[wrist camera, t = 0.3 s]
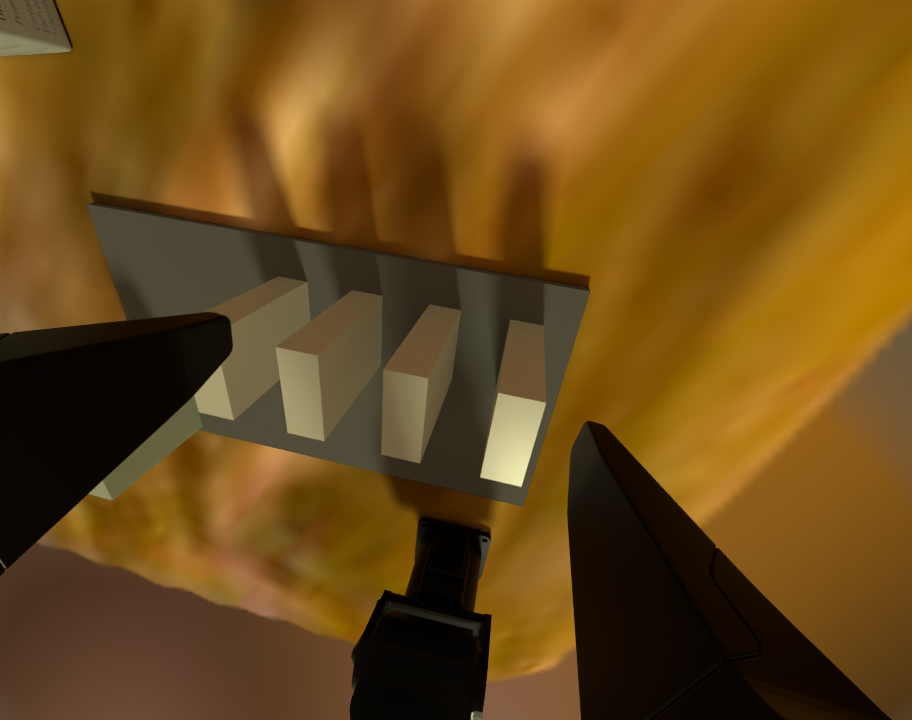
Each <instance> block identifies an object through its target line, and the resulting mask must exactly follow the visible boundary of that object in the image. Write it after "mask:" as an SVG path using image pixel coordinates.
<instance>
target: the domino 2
mask: <svg viewBox="0 0 912 720" xmlns="http://www.w3.org/2000/svg"><path fill="white" fill-rule="evenodd" d="M205 312H215V313H218V314H221V315H225V316H227V317H228V318H229V319H230V322H231V330H232V339H233V349H232V352H231V354H230V355H229V356H228V358H227V359H226V360H225V361H224V362H223V363H222V364H221V366H220V367H219V368H218V369H217V370H216V371H215V372H214V373H213V375H212V376H211V377H210V378H209V379H208V380H207V381H206V383H205V384H204V385H203V386H202V387H201V388H200V389H199V390H198V392H197V393H196V394H195V395H194V397H195V400H196V404H197V407H198V411H199V412H200V413H204V414H208V415H213V416H217V417H221V418H226V419H230V420H235V419H236V418H237V417H238V416H239V415H240V414H242V413H243V412H244V411H245V410H246V409H247V408H248V407H250V406H251V405H252V404H253V403H254V402H255V401H256V400H257V399H259V398H260V397H261V396H262V395H263V394H264V393H265V392H267V391H268V390H269V389H270V388H271V387H272V386H273V385H274V384H276V383H277V382H278V381H279V380H280V375H279V368H278V361H277V354H276V346H278V345H279V344H280V343H282V342H283V341H284V340H286V339H287V338H288V337H290V336H291V335H292V334H294V333H295V332H296V331H298V330H299V329H300V328H302V327H303V326H304V325H306V324H307V323H309V322H310V321H311V319H310V307H309V295H308V283H307V282H306V281H300V280H295V279H289V278H284V277H279V276H278V277H276V278H274V279H272V280H270V281H268V282H266V283H263V284H261V285H259V286H257V287H255V288H253V289H251V290H249V291H247V292H245V293H243V294H240V295H238V296H236V297H234V298H232V299H230V300H228V301H226V302H224V303H222V304H220V305H217V306H215V307H213V308H211V309H209V310H207V311H205Z"/></svg>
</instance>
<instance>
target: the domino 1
mask: <svg viewBox="0 0 912 720" xmlns="http://www.w3.org/2000/svg"><path fill="white" fill-rule="evenodd" d="M202 427H203V426H202V423H201V419H200V416H199V412H198V409H197V405H196V402H195V398H194V396H193V397H192V398H191V399H190V400H189V401H188V402H187V403H186V404H185V405H184V406H183V407H182V408H181V409H180V410H178V411H177V412H176V413H175V414H174V415H173V416H172V417H171V418H170V419H169V420H168V421H167V422H166V423H164V424H163V425H162V426H161V427H160V428H159V429H158V430H157V431H156V432H155V433H154V434H153V435H151V436H150V437H149V438H148V439H147V440H146V441H145V442H144V443H143V444H142V445H141V446H140V447H139V448H137V449H136V450H135V451H134V452H133V453H132V454H131V455H130V456H129V457H128V458H127V459H126V460H124V461H123V462H122V463H121V464H120V465H119V466H118V467H117V468H116V469H115V470H114V471H113V472H111V473H110V474H109V475H108V476H107V477H106V478H105V479H104V480H103V481H102V482H101V483H100V484H99V485H97V486H96V487H95V488H94V489H93V490H92V491H91V492H90V493H89V494H91V495H94V496H98V497H102V498H106V499H110V500H114V499H115V498H116V497H117V496H118V495H120V494H121V493H122V492H123V491H125V490H126V489H127V488H128V487H129V486H131V485H132V484H133V483H134V482H136V481H137V480H138V479H139V478H140V477H142V476H143V475H144V474H145V473H147V472H148V471H149V470H150V469H151V468H153V467H154V466H155V465H156V464H158V463H159V462H160V461H161V460H162V459H164V458H165V457H166V456H167V455H169V454H170V453H171V452H172V451H173V450H175V449H176V448H177V447H178V446H180V445H181V444H182V443H183V442H184V441H186V440H187V439H188V438H189V437H191V436H192V435H193V434H194V433H195V432H197V431H198V430H199V429H200V428H202Z"/></svg>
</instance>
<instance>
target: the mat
mask: <svg viewBox="0 0 912 720" xmlns="http://www.w3.org/2000/svg"><path fill="white" fill-rule="evenodd" d="M87 207H88V210H89V213H90V216H91V218H92V221H93V224H94V227H95V230H96V233H97V236H98V238H99V241H100V244H101V247H102V250H103V253H104V255H105V258H106V261H107V264H108V267H109V270H110V272H111V275H112V278H113V281H114V284H115V287H116V290H117V292H118V295H119V298H120V301H121V304H122V307H123V309H124V312H125V315H126V318H127V320H136V319H146V318H155V317H165V316H174V315H184V314H193V313H203V312H205V311H207V310H209V309H211V308H213V307H215V306H217V305H220V304H222V303H224V302H226V301H228V300H230V299H232V298H234V297H236V296H238V295H240V294H243V293H245V292H247V291H249V290H251V289H253V288H255V287H257V286H259V285H261V284H263V283H266V282H268V281H270V280H272V279H274V278H276V277H278V276H279V277H284V278H289V279H295V280H300V281H306V282H307V283H308V295H309V307H310V319H311V320H313V319H314V318H315V317H317V316H318V315H319V314H321V313H322V312H323V311H325V310H326V309H327V308H329V307H330V306H331V305H333V304H334V303H335V302H337V301H338V300H339V299H341V298H342V297H344V296H345V295H346V294H348V293H349V292H350V291H352V290H354V291H360V292H365V293H371V294H376V295H381V296H383V302H382V349H381V365H380V367H379V368H378V369H377V371H376V372H375V373H374V375H373V376H372V377H371V379H370V380H369V382H368V383H367V384H366V386H365V387H364V388H363V390H362V391H361V392H360V394H359V395H358V396H357V398H356V399H355V401H354V402H353V403H352V405H351V406H350V407H349V409H348V410H347V411H346V413H345V414H344V415H343V417H342V418H341V419H340V421H339V422H338V424H337V425H336V426H335V428H334V429H333V430H332V432H331V433H330V434H329V436H328V437H327V438H326V440H325V441H321V440H317V439H312V438H308V437H304V436H299V435H295V434H291V433H288V432H287V425H286V418H285V411H284V404H283V397H282V389H281V382H280V380H279V381H278V382H277V383H276V384H274V385H273V386H272V387H271V388H270V389H269V390H268V391H267V392H265V393H264V394H263V395H262V396H261V397H260V398H259V399H257V400H256V401H255V402H254V403H253V404H252V405H251V406H250V407H248V408H247V409H246V410H245V411H244V412H243V413H242V414H240V415H239V416H238V417H237V418H236V419H235V420H230V419H226V418H221V417H217V416H213V415H208V414H204V413H200V412H199V411H198V412H199V416H200V419H201V423H202V426H203V427H202V428H200V429H199V430H202V431H206V432H210V433H214V434H218V435H223V436H227V437H231V438H235V439H240V440H244V441H248V442H252V443H257V444H261V445H265V446H269V447H273V448H278V449H282V450H286V451H290V452H295V453H299V454H303V455H307V456H311V457H316V458H320V459H324V460H328V461H333V462H337V463H341V464H345V465H350V466H354V467H358V468H362V469H366V470H371V471H375V472H379V473H383V474H388V475H392V476H396V477H400V478H404V479H409V480H413V481H417V482H421V483H426V484H430V485H434V486H438V487H443V488H447V489H451V490H455V491H459V492H464V493H468V494H472V495H476V496H481V497H485V498H489V499H493V500H497V501H502V502H506V503H510V504H514V505H519V506H523V505H524V502H525V498H526V495H527V492H528V489H529V486H530V482H531V479H532V476H533V473H534V470H535V466H536V463H537V460H538V457H539V454H540V450H541V447H542V444H543V441H544V438H545V434H546V431H547V428H548V425H549V422H550V418H551V415H552V412H553V409H554V406H555V402H556V399H557V396H558V393H559V390H560V386H561V383H562V380H563V377H564V374H565V370H566V367H567V364H568V361H569V358H570V354H571V351H572V348H573V345H574V342H575V338H576V335H577V332H578V329H579V326H580V322H581V319H582V316H583V313H584V310H585V306H586V303H587V300H588V297H589V294H590V290H589V288H586V287H580V286H574V285H568V284H562V283H557V282H551V281H545V280H539V279H533V278H528V277H522V276H516V275H510V274H504V273H499V272H493V271H487V270H481V269H475V268H470V267H464V266H458V265H452V264H446V263H441V262H435V261H429V260H423V259H417V258H412V257H406V256H400V255H394V254H388V253H383V252H377V251H371V250H365V249H359V248H354V247H348V246H342V245H336V244H330V243H325V242H319V241H313V240H307V239H301V238H296V237H290V236H284V235H278V234H272V233H267V232H261V231H255V230H249V229H243V228H238V227H232V226H226V225H220V224H214V223H209V222H203V221H197V220H191V219H185V218H180V217H174V216H168V215H162V214H157V213H151V212H145V211H139V210H133V209H128V208H122V207H116V206H110V205H104V204H99V203H92V204H87ZM429 304H430V305H435V306H441V307H446V308H452V309H457V310H461V316H460V323H459V331H458V338H457V346H456V353H455V360H454V368H453V375H452V380H451V383H450V386H449V388H448V391H447V393H446V396H445V399H444V401H443V404H442V407H441V409H440V412H439V415H438V417H437V420H436V423H435V425H434V428H433V431H432V433H431V436H430V439H429V441H428V444H427V446H426V449H425V452H424V454H423V457H422V460H421V462H420V463H416V462H412V461H407V460H403V459H399V458H394V457H390V456H386V455H381V441H382V401H383V369H384V368H385V366H386V365H387V363H388V362H389V360H390V359H391V358H392V356H393V355H394V353H395V352H396V351H397V349H398V348H399V346H400V345H401V344H402V342H403V341H404V339H405V338H406V337H407V335H408V334H409V332H410V331H411V330H412V328H413V327H414V325H415V324H416V323H417V321H418V320H419V318H420V317H421V315H422V314H423V313H424V311H425V310H426V308H427V307H428V306H429ZM510 319H511V320H516V321H522V322H527V323H533V324H538V325H543V326H544V351H545V379H546V406H545V409H544V412H543V416H542V419H541V423H540V426H539V429H538V433H537V436H536V439H535V443H534V446H533V449H532V453H531V456H530V459H529V463H528V466H527V470H526V473H525V476H524V480H523V483H522V486H521V487H520V486H515V485H511V484H507V483H503V482H498V481H494V480H490V479H485V478H481V477H480V475H481V470H482V464H483V458H484V453H485V447H486V441H487V436H488V430H489V424H490V419H491V413H492V407H493V402H494V396H495V390H496V385H497V380H498V375H499V371H500V366H501V361H502V356H503V351H504V347H505V342H506V337H507V332H508V327H509V323H510ZM194 398H195V397H194ZM195 402H196V400H195ZM196 405H197V404H196ZM197 409H198V407H197Z"/></svg>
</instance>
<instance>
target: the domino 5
mask: <svg viewBox="0 0 912 720" xmlns="http://www.w3.org/2000/svg"><path fill="white" fill-rule="evenodd" d="M545 406H546V379H545V351H544V326H543V325H538V324H533V323H527V322H522V321H516V320H511V319H510V323H509V327H508V332H507V337H506V342H505V347H504V351H503V356H502V361H501V366H500V371H499V375H498V380H497V385H496V390H495V396H494V402H493V407H492V413H491V419H490V424H489V430H488V436H487V441H486V447H485V453H484V458H483V464H482V470H481V475H480V477H481V478H485V479H490V480H494V481H498V482H503V483H507V484H511V485H515V486H520V487H521V486H522V483H523V480H524V476H525V473H526V470H527V466H528V463H529V459H530V456H531V453H532V449H533V446H534V443H535V439H536V436H537V433H538V429H539V426H540V423H541V419H542V416H543V412H544V409H545Z"/></svg>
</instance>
